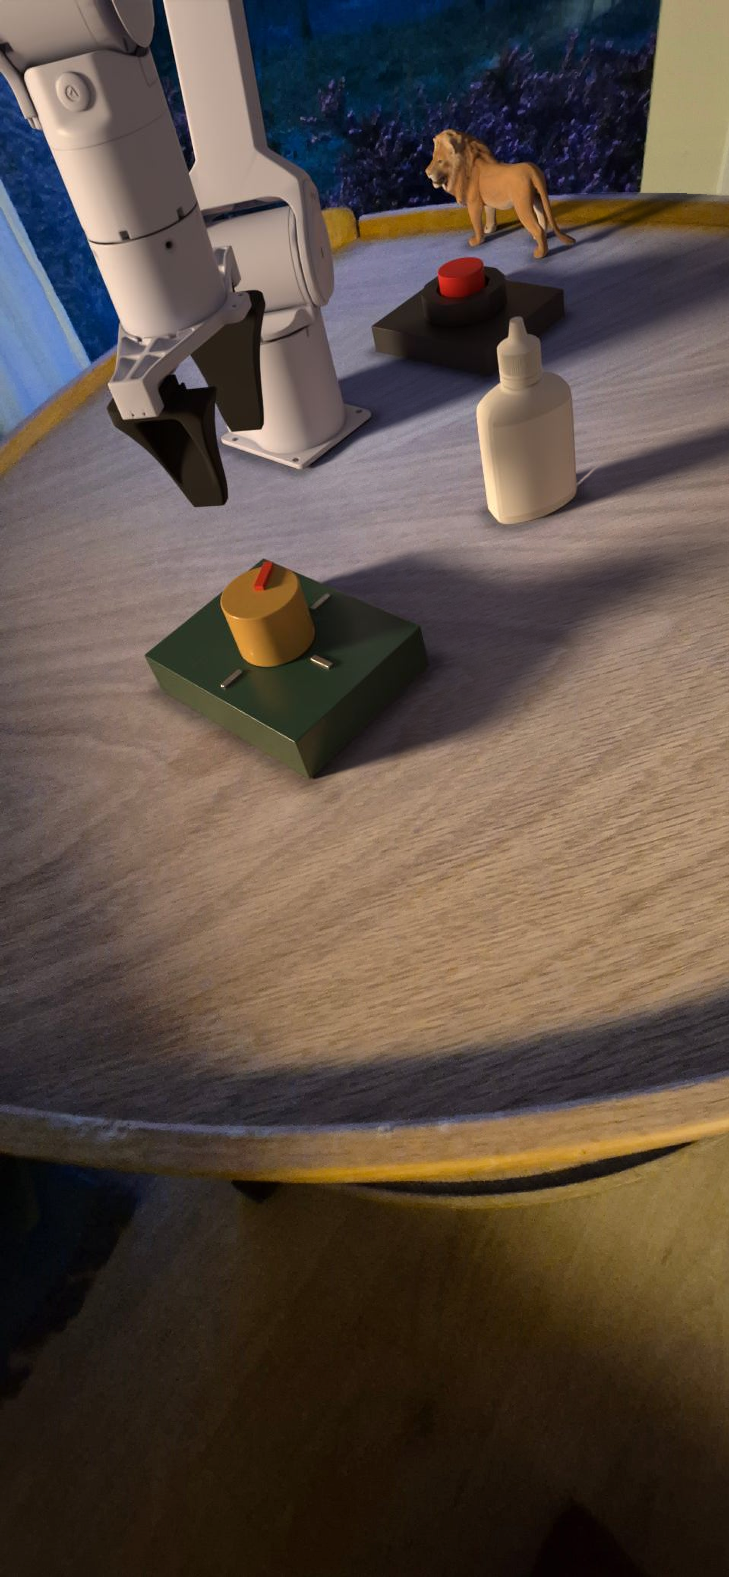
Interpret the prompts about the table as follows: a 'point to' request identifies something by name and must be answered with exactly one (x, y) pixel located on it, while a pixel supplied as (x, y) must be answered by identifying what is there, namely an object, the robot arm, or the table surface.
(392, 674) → the control panel
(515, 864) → the table surface
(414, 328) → the button box
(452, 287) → the red button
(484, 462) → the eye dropper bottle
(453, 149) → the lion figurine
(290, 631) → the dial knob
